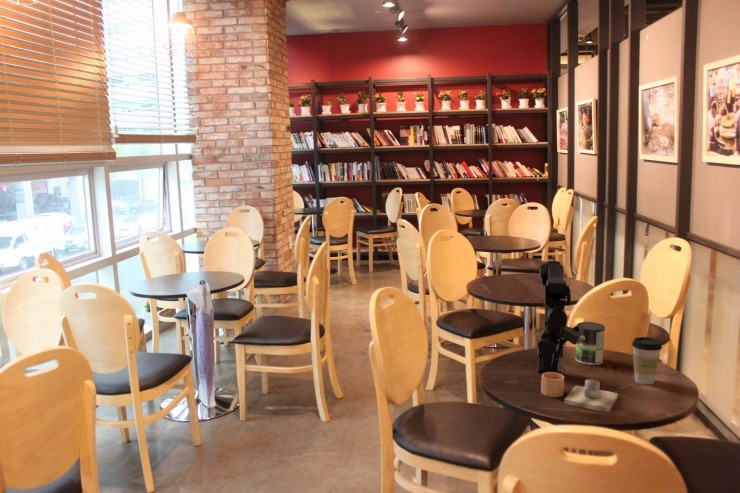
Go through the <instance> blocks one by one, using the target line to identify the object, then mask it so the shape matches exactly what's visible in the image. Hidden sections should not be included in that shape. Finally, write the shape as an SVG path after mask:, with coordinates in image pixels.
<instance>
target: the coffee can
mask: <svg viewBox="0 0 740 493" xmlns="http://www.w3.org/2000/svg"><path fill="white" fill-rule="evenodd" d="M576 325H577V326H579V327H580V331H581V332H582V336H581V337H580V339H579V341H578V342H577V344H576V346H575V348H576V349H575V359H574V360H575V361H576V362H578V363H580V364H582V365H589V366H597V365H602V364H603V362H604V347H605V332H606V331H605V329H606V326H605V325H603V324H602V323H599V322H593V321H582V322H578V323H577V324H576Z"/></svg>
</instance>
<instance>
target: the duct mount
mask: <svg viewBox="0 0 740 493" xmlns="http://www.w3.org/2000/svg"><path fill="white" fill-rule="evenodd" d="M600 384H601V383H600V381H599V380H596V379H592V378H591V379H585V381H584V386H582V385H574V387H573V388H572V389H571V391H570V392H569V393H568V394H567V396H566V397H565V398H564V402H563V404H564V405H569V406H573V407H579V408H583V409H589V410H593V411H598V412H602V413H606V414H607V413H608V414H609V413H610V412H611V411H612V409H613V407H614V406H615V404H616V402H617V400H618V399H619V392H618V393H617V392H612V391H607V390H602V389H600V387H601V385H600Z"/></svg>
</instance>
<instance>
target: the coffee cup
mask: <svg viewBox="0 0 740 493" xmlns="http://www.w3.org/2000/svg"><path fill="white" fill-rule="evenodd" d="M631 346H632V350H633V351H632V358H633V359H632V360H633V371H634V381H635V382H636V383H638V384H640V385H641V384H642V385H653V384H654V382H655V378H656V374H657V370H658V366H659V360H660V355H661V354H660V353H661V349H663V346H662V343H661V341H660V340H659V339H657V338H653V337H650V336H649V337H647V336H638V337H635V338H634V339H633V341H632V343H631Z"/></svg>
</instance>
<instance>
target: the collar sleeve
mask: <svg viewBox="0 0 740 493" xmlns="http://www.w3.org/2000/svg"><path fill="white" fill-rule="evenodd" d="M540 380H541V381H540V382H541V384H540V386H541V387H540V392H541V394H542V395H544V396H546V397H550V398H559V397H562V396H564V392H565V391H564V390H565V376H564V375H563V374H562V373H559V372H558V373H555V372H546V373H541V379H540Z"/></svg>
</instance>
